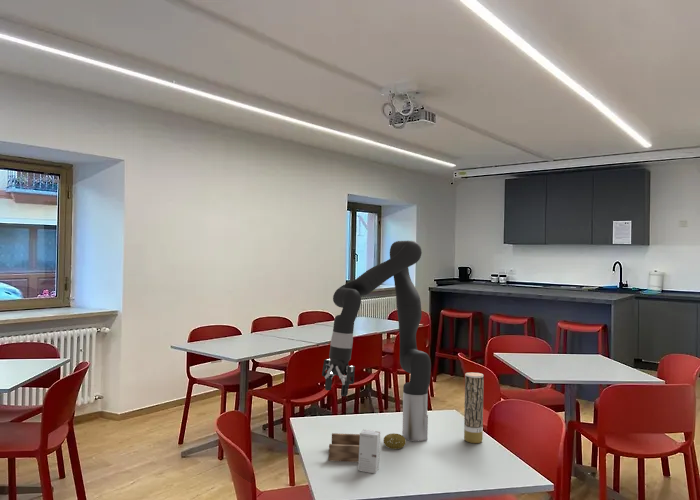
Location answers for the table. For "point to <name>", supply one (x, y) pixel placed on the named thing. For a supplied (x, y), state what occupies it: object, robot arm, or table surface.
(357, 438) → the u rest
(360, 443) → the skincare box
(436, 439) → the table surface
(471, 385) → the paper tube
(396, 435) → the sculpture
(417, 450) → the table surface
